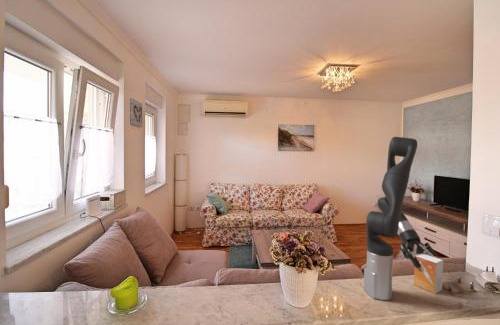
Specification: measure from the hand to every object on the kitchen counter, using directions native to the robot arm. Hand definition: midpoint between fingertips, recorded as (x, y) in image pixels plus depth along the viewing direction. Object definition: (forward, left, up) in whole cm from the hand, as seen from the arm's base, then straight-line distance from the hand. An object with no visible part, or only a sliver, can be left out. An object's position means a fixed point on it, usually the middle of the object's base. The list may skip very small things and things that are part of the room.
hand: (427, 267), depth 99 cm
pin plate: (+12, -2, -9) cm, 15 cm away
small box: (0, 0, -9) cm, 9 cm away
